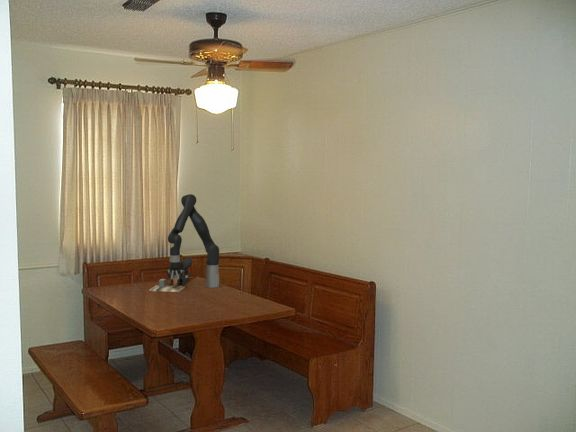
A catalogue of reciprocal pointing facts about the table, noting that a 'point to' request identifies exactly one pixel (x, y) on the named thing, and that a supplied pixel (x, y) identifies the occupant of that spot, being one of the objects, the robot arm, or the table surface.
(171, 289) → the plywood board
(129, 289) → the table surface
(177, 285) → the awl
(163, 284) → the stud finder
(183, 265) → the gun
